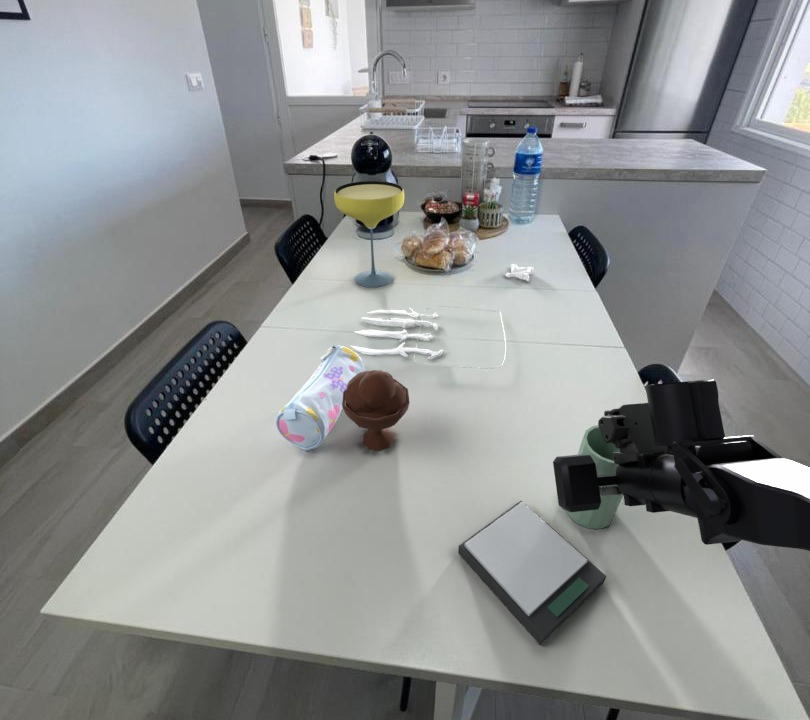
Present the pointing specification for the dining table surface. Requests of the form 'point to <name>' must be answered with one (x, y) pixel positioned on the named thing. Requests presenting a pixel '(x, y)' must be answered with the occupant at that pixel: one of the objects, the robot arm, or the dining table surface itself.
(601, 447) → the tumbler
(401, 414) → the ice cream bowl
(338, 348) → the pencil case
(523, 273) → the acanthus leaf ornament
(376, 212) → the cocktail glass
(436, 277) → the dining table surface
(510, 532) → the scale
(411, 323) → the knife set
